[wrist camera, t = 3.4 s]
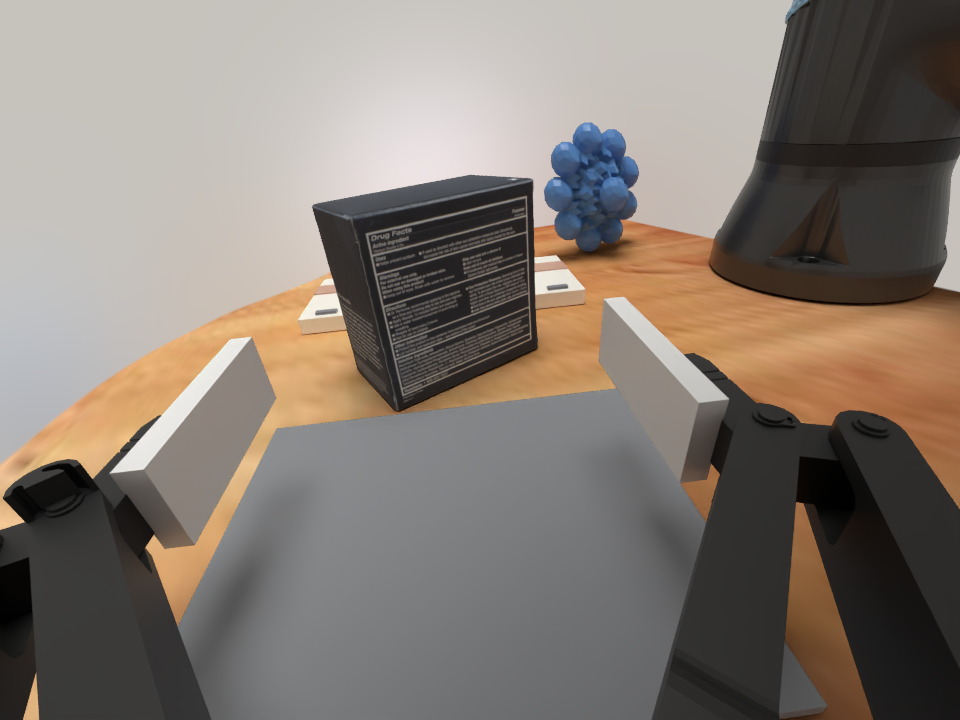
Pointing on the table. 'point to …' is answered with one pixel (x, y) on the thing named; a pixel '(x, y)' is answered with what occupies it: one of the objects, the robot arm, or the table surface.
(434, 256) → the small box
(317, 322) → the board
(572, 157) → the blue bumpy cluster
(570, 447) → the mat
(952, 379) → the table surface
